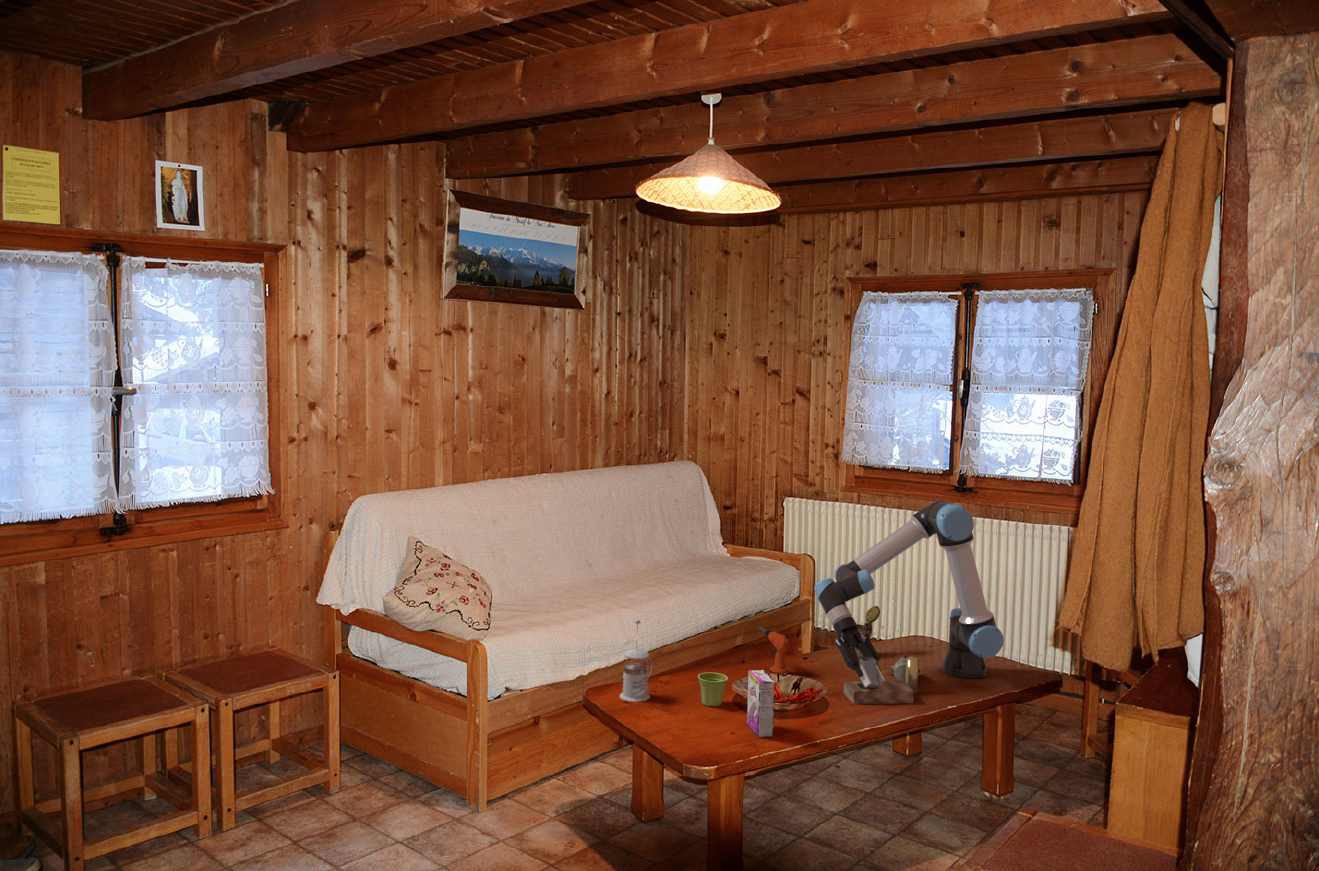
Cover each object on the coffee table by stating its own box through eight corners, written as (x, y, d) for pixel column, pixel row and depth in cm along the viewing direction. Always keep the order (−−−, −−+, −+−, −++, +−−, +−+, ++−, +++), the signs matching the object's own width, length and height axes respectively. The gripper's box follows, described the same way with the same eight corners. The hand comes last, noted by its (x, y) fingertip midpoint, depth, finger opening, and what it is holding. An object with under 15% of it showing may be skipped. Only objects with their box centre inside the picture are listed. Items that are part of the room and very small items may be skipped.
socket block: (901, 692, 321) (902, 681, 321) (913, 703, 311) (913, 690, 311) (843, 693, 319) (844, 681, 318) (853, 703, 309) (854, 691, 308)
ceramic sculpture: (890, 658, 330) (890, 648, 345) (888, 683, 331) (888, 673, 345) (922, 661, 328) (920, 652, 343) (920, 686, 328) (919, 676, 343)
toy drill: (761, 656, 352) (765, 619, 349) (790, 677, 336) (795, 638, 334) (750, 658, 350) (755, 620, 347) (779, 678, 334) (784, 639, 332)
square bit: (872, 689, 316) (871, 656, 316) (876, 693, 312) (876, 660, 312) (860, 690, 316) (860, 657, 315) (864, 694, 312) (864, 661, 311)
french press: (613, 695, 308) (615, 618, 306) (638, 687, 316) (641, 613, 315) (635, 703, 301) (637, 625, 300) (660, 695, 310) (663, 619, 308)
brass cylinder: (914, 688, 326) (915, 656, 325) (918, 692, 322) (920, 660, 321) (902, 688, 325) (904, 656, 325) (907, 692, 321) (909, 660, 321)
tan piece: (884, 654, 365) (886, 608, 364) (859, 659, 357) (861, 612, 356) (867, 648, 372) (869, 603, 371) (842, 653, 365) (844, 606, 364)
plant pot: (710, 696, 310) (711, 670, 310) (732, 704, 304) (733, 677, 303) (690, 702, 304) (691, 675, 303) (712, 711, 297) (714, 683, 297)
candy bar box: (745, 723, 287) (747, 669, 286) (761, 723, 288) (763, 669, 287) (757, 737, 276) (759, 681, 275) (773, 737, 277) (776, 681, 276)
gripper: (856, 624, 331) (889, 685, 318) (816, 630, 321) (848, 693, 308) (868, 612, 326) (902, 674, 313) (827, 618, 316) (860, 681, 304)
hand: (875, 683), depth 311 cm, fingers closed on square bit, 5 cm apart
